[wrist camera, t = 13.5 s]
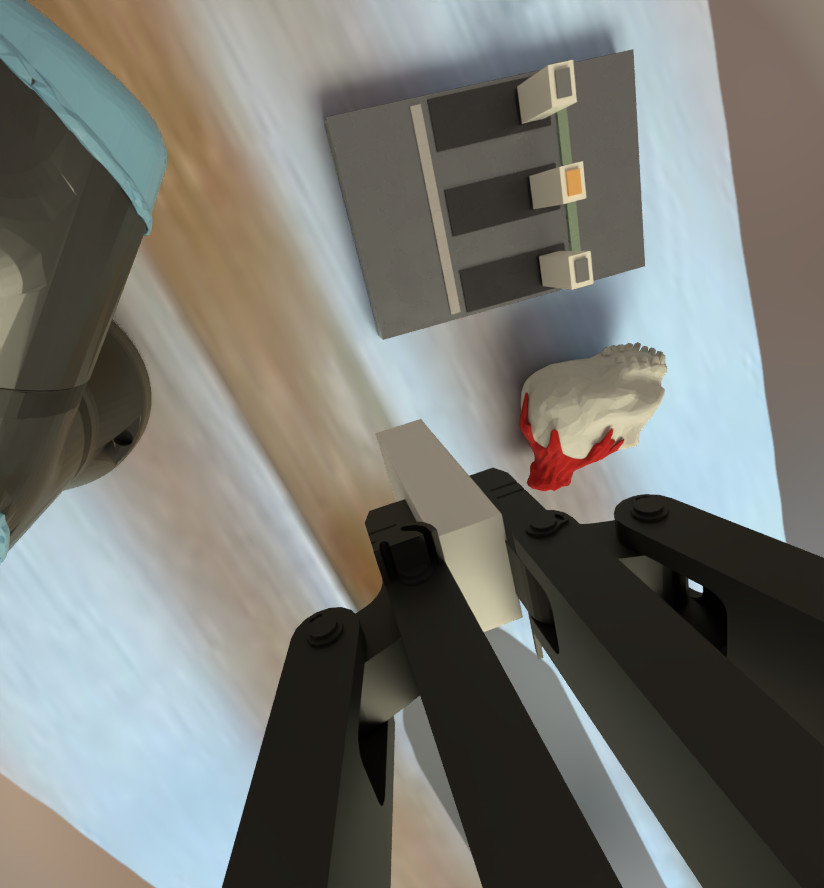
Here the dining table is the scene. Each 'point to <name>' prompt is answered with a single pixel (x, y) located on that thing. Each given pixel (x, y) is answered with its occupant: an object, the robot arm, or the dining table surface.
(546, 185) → the breaker mid
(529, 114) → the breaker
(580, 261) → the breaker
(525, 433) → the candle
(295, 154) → the dining table surface
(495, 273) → the panel
